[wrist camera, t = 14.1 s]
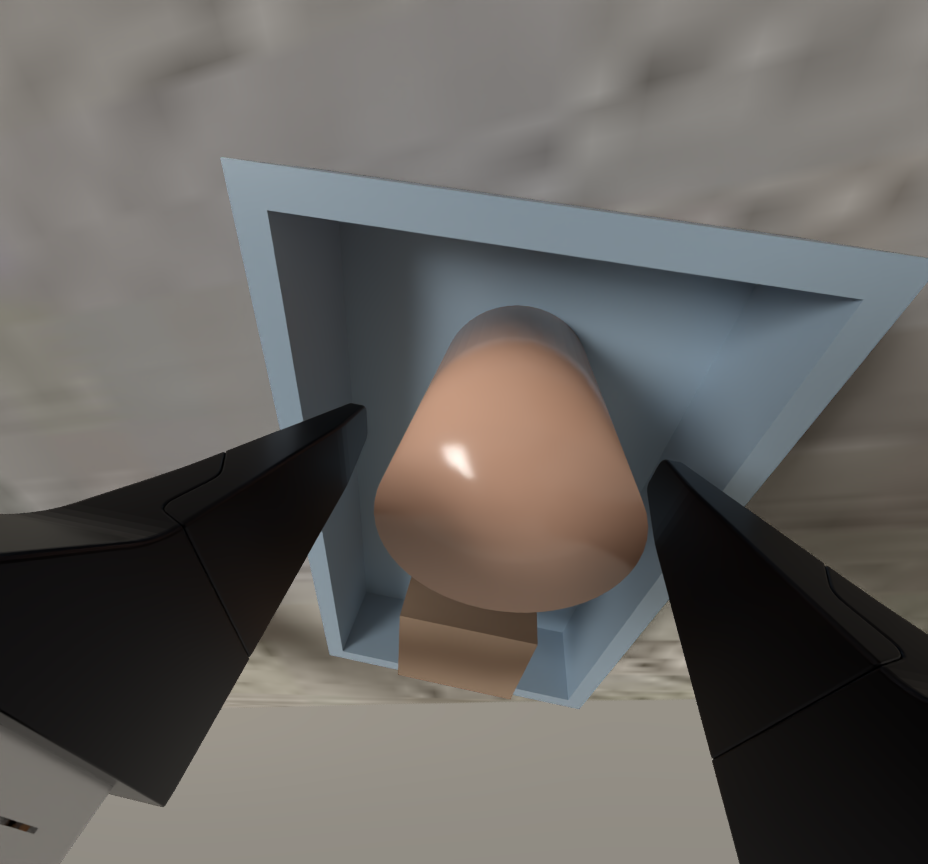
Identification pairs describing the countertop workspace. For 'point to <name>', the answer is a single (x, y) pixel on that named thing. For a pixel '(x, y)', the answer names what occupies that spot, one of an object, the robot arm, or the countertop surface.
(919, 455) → the countertop surface
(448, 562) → the brown egg
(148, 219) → the countertop surface
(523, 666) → the walnut block
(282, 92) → the countertop surface
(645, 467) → the tote
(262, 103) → the countertop surface
